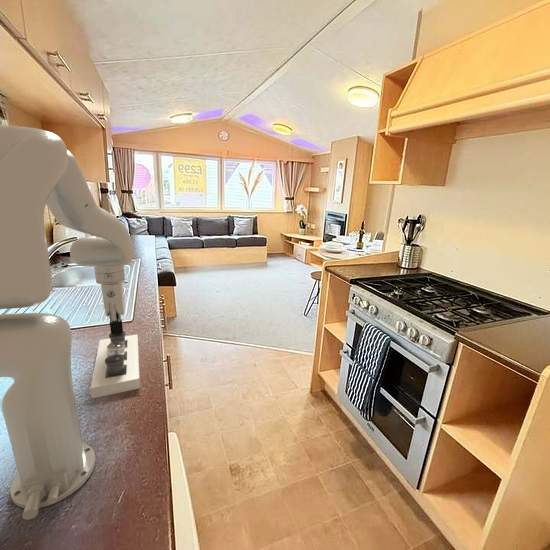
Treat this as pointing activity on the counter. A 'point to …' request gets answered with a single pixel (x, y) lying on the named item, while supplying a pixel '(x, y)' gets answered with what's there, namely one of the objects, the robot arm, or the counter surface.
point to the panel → (113, 385)
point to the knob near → (115, 364)
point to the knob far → (117, 337)
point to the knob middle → (116, 348)
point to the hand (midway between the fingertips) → (117, 332)
